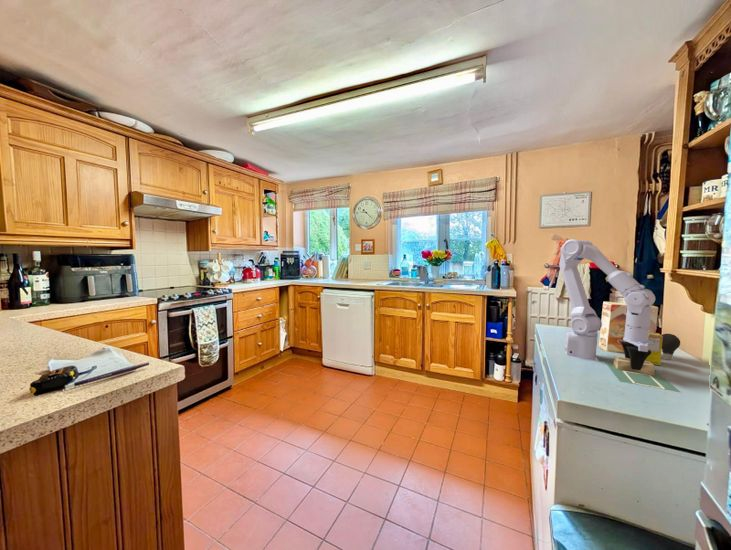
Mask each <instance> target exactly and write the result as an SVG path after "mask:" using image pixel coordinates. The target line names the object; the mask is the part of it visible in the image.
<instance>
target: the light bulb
mask: <svg viewBox="0 0 731 550" xmlns="http://www.w3.org/2000/svg"><path fill="white" fill-rule="evenodd" d="M660 335H661V336H663V341H662V352H661V353H662V359H663V360H667V361H671V360H673V355H674V354H675V351H677V350H678V348H679V347H680V346H681V341H680V338H679V337H677V336H676V335H675V334H673V333H663V334H660Z"/></svg>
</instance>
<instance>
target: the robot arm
mask: <svg viewBox="0 0 731 550" xmlns="http://www.w3.org/2000/svg"><path fill="white" fill-rule="evenodd" d="M559 258H560V259H559V264H558V266H559V270H560V272H561V275H562V279H563V281H564V286H565V289H566V292H567V295H568V299H569V302H570V305H571V308H572V310H571V311H570V314H569V316H570V322H569V323H570V328H571V330H572V331H566V333H565V340H564V341H565V343H564V352H565V355H566V357H571V358H578V359H583V360H584V359H585V360H589V361H597V362H599V361H600V360H599V359H598V357H597V348H598V347H597V346H598V337H599V336H598V335H599V334H598V331H600V329H601V327H602V322H601V318H600V317H598V315H597V313H596V311H595V309H593V308H592V307H591V306H590V305H591V304H590V303H589V302H590V301H589V299H588V297H587V294H586V293H587V292H586V290H585V286H584V284H583V281H582V280H583V279H582V278H581V275H580V272H579V268H578V266H579V265H580V263H581V262H582V261H583V260H584V259H585V260H589V261H591V262H592V263H593V264H595V266H597V268H599V269H600V270H601V271H602V272H603V273H604V274H605V275H606V276H608V278H607V279H608V280H607V281H608V283H609V284H610V285H611V286H612V287H613V288H614V289H615V290H616V291H617V292H618V293H619V294H620V295H621V296H623V297H624V298H623V300H624V303H626V304H627V305H628V306H627V314H626V325H625V335H624V337H623V340H624V341H626V342H620V343H621V345H622V347H623V349H624V353H623V354H624V358H630V364H631V368H632V369H635V370H641V368H642V366H643V364H644V361H645V360H646V358H647V357H648V356H649V355H650V354H651V351H650V350H648V344H653V342H652V341H649V340H648V337H649V328H650V318H651V306H650V305H652V306H653V305H654V303H655V301H656V296H655V294H654V293H653V291H652V290H650V289H647V288H646V286H645V285H643V284H640V283H639V282H638V281H637V280H636V279H635V278H634V277H633V276H634V274H632V272H627V271H626V270H619V269H618V268H617V267H616V266H615V265H614V264H613V263H612V262H611V260H609V258H607V256H606V255H604V253H603V252H601V250H600V249H599V248H598V246H596V245H595V244H593V243H592V241H590V240H586V239H576V238H575V239H574V238H572V239H567V240H566V241H565V242H564V243H563V244H562V246H561V247H560V257H559Z"/></svg>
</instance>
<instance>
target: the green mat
mask: <svg viewBox="0 0 731 550" xmlns="http://www.w3.org/2000/svg"><path fill="white" fill-rule="evenodd" d="M604 363H605V364H606V366H607V367H608V368H609V370H610V371H611V372H612V373H613V375H614V376H615V377H616V378H617V379H618V381H619V382H621V383H627V384H631V385H632V384H633V385H637V386H642V387H643V386H644V387H647V388H648V387H649V388H654V389H661V390H665V391H671V392H678V393H681V391H680V390H679V389H678V388H676V386H675V385H673V383H671V382H670V381H668V380H667V379H666V378H665V377H664V376H663V375H662V374H660V373H659V372H658V371H657V370H655V371H654V375H650V374H644V373H637V372H631V371H625V370H619V369H617V368H616V367H615V366H614V365H613V364H614V362H610V361H609V362H608V361H605V362H604Z"/></svg>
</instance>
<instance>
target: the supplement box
mask: <svg viewBox="0 0 731 550" xmlns="http://www.w3.org/2000/svg"><path fill="white" fill-rule="evenodd" d="M661 335H662V334H660V333H658V332H655V333H653V332H649V337H648V340H649V341H652V342H653V344H648V350H650V351H651V354H650V355H649V356H648V357H647V358H646V360H645V361H650V362H651V363H652V364H653V365H654V366H658V367H660V366H661V362H662V361H661V359H662V353H663V352H662V341H663V336H661Z"/></svg>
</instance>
